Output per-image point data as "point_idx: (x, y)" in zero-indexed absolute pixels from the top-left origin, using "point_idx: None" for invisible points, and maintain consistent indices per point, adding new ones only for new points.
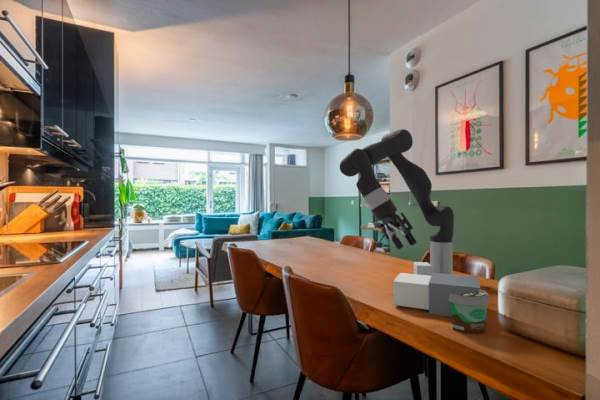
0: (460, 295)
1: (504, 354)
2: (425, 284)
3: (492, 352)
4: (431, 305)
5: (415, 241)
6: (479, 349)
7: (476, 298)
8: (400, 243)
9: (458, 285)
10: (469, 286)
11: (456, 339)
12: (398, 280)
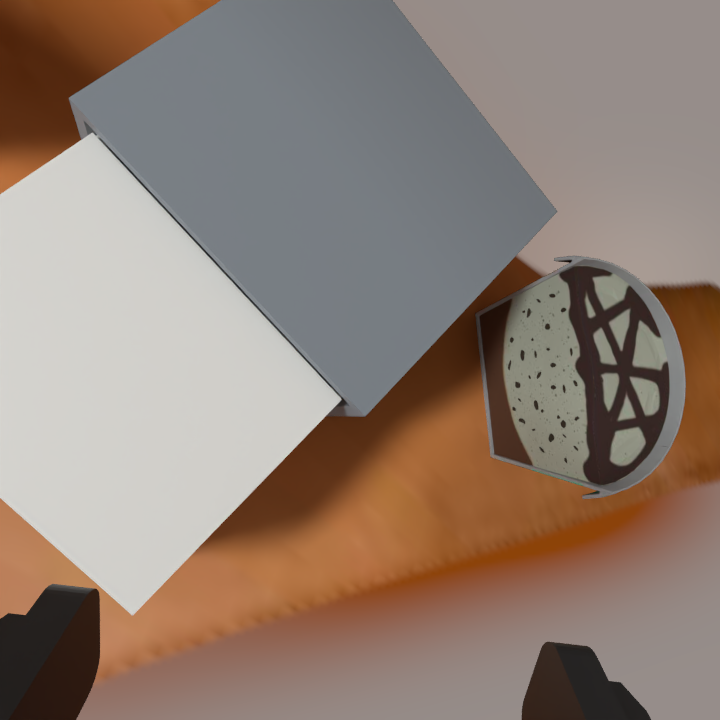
0: (603, 422)
1: None
2: (321, 414)
3: None
4: None
5: (617, 690)
6: (627, 495)
7: (676, 406)
8: (54, 667)
9: (480, 279)
10: (516, 237)
11: (557, 513)
12: (125, 550)
